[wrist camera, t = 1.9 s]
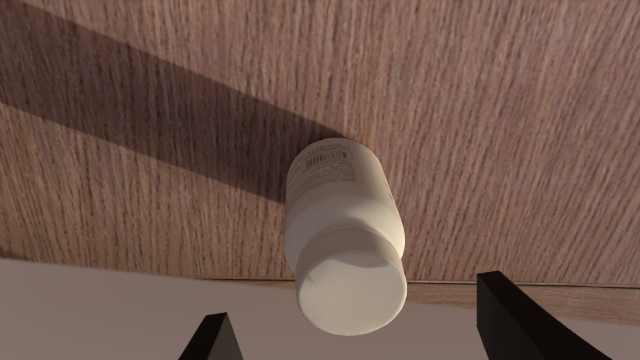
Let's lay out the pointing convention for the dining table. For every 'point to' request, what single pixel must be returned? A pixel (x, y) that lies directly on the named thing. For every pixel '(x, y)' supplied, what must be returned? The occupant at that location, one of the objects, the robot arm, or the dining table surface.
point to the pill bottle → (343, 238)
